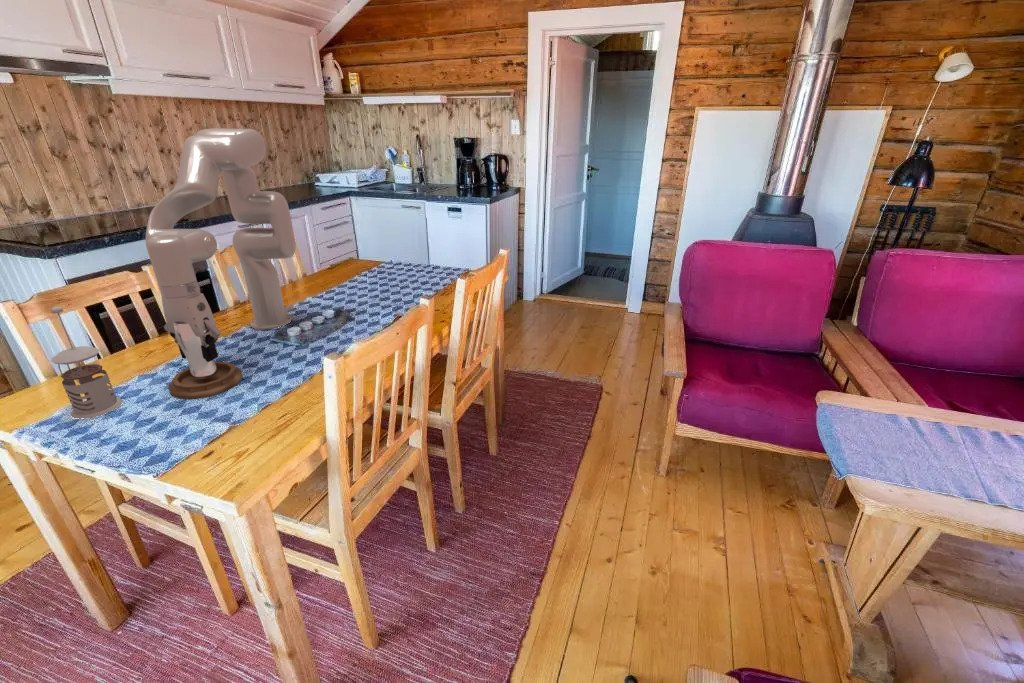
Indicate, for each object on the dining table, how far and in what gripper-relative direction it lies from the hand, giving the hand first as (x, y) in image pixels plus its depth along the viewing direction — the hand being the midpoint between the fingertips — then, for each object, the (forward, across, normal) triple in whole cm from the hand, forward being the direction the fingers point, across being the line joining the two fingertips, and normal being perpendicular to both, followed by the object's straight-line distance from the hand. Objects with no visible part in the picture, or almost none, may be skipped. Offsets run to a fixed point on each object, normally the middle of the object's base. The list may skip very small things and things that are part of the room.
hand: (200, 357), depth 118 cm
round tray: (+7, 0, 0) cm, 7 cm away
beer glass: (+5, 0, 0) cm, 5 cm away
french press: (+7, +16, +16) cm, 24 cm away
